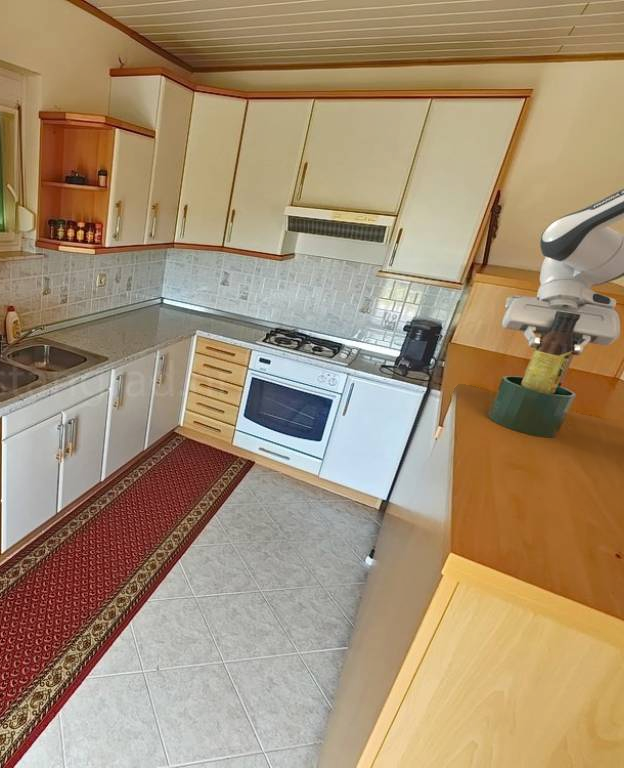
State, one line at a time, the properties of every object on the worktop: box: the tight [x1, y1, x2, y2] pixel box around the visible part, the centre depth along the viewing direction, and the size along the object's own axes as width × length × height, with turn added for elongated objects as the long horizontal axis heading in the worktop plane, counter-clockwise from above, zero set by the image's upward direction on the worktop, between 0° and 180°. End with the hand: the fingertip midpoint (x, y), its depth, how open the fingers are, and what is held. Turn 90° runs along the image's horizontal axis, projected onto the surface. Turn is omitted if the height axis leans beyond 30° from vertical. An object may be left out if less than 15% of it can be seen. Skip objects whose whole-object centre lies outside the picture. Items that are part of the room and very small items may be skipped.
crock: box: [487, 375, 577, 438], centre depth 114 cm, size 13×13×10 cm
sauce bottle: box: [520, 310, 581, 394], centre depth 110 cm, size 7×6×20 cm
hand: (555, 349), depth 109 cm, fingers closed on sauce bottle, 6 cm apart
